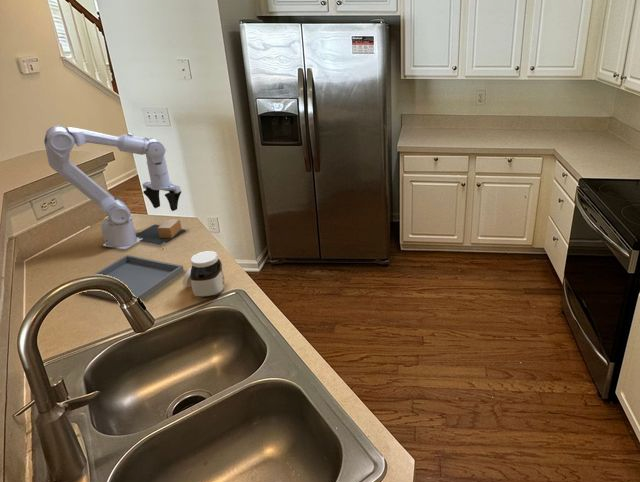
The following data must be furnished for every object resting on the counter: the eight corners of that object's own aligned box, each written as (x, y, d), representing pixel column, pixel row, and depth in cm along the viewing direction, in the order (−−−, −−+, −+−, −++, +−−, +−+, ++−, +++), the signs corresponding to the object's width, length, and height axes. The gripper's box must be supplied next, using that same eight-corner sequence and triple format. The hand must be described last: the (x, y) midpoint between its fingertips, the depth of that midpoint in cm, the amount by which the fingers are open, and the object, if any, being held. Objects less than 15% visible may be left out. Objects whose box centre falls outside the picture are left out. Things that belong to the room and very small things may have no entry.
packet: (159, 237, 153) (157, 227, 152) (169, 228, 160) (167, 219, 158) (171, 238, 153) (169, 228, 152) (181, 229, 160) (179, 219, 158)
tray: (76, 292, 123) (74, 284, 122) (128, 261, 139) (127, 254, 138) (137, 306, 118) (135, 298, 117) (184, 272, 134) (182, 265, 133)
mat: (128, 240, 152) (127, 238, 152) (154, 226, 163) (154, 224, 163) (160, 246, 149) (160, 244, 149) (185, 231, 160) (185, 229, 159)
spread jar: (220, 300, 121) (214, 265, 117) (177, 304, 119) (169, 268, 115) (229, 277, 132) (224, 244, 128) (190, 280, 130) (183, 246, 126)
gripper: (184, 171, 152) (190, 206, 157) (150, 167, 156) (158, 201, 161) (169, 178, 146) (176, 214, 151) (134, 173, 150) (142, 209, 155)
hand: (165, 208), depth 156 cm, fingers open, 7 cm apart
